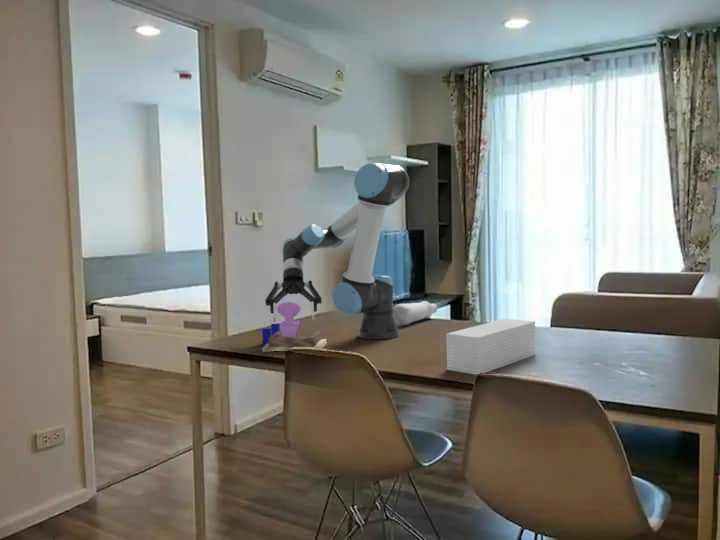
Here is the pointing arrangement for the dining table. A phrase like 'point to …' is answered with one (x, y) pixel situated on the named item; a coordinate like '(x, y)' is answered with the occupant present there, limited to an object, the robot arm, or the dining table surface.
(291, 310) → the purple upright piece
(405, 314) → the bottle
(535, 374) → the dining table surface
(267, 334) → the cable clip
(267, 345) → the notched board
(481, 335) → the stack of papers
